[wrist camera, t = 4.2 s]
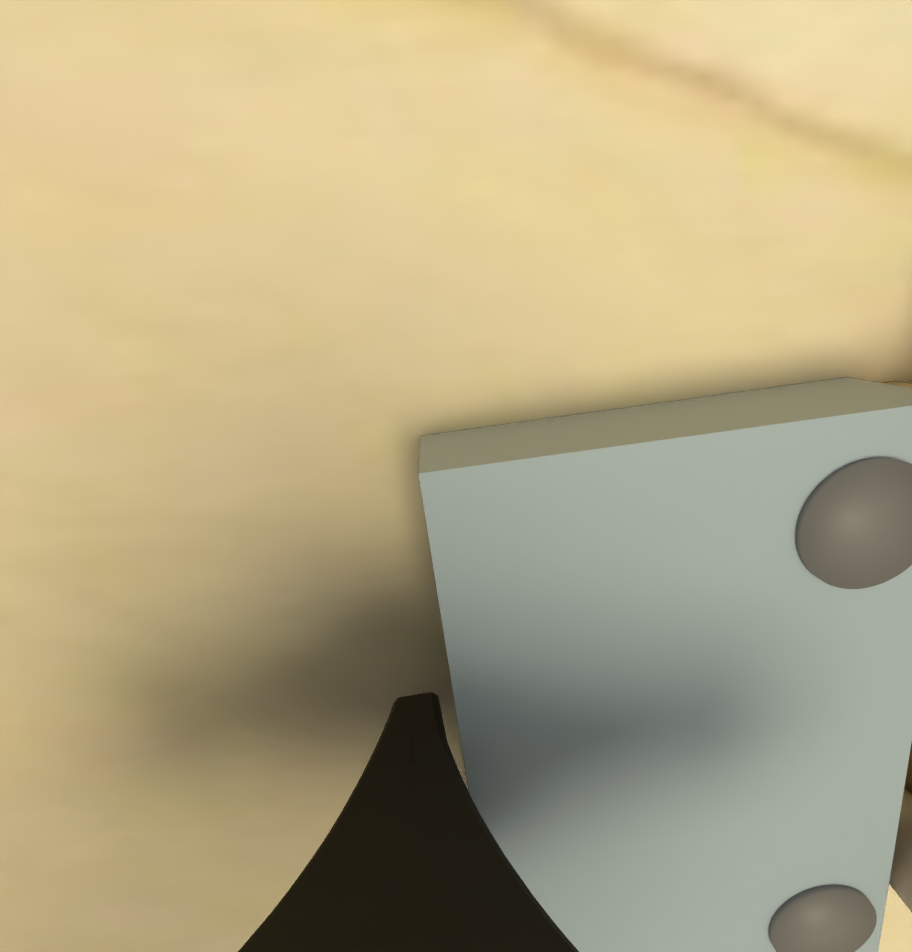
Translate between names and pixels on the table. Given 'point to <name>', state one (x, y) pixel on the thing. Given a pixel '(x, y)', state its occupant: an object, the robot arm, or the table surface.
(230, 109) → the table surface
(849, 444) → the door
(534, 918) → the robot arm
